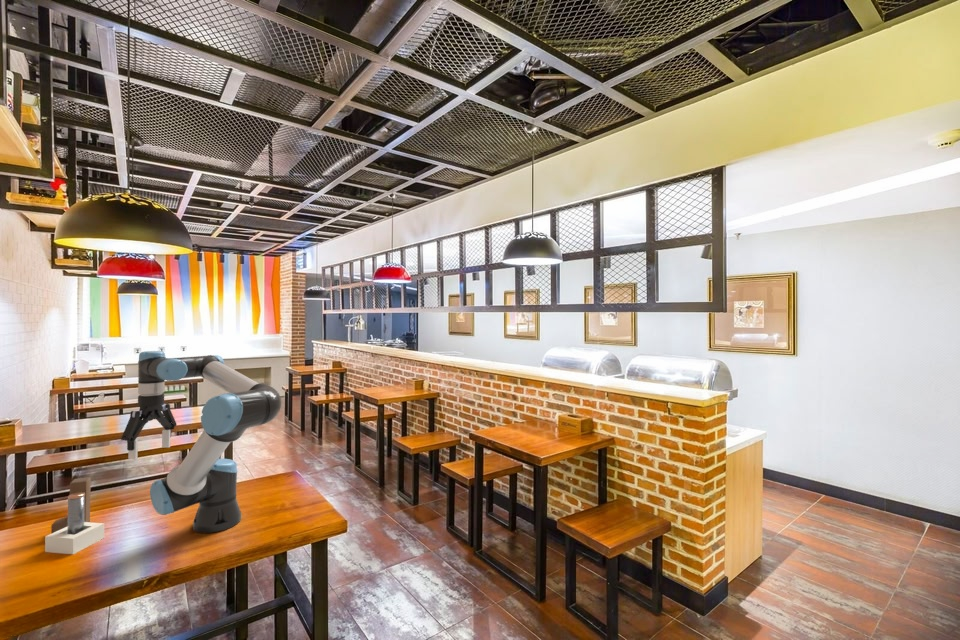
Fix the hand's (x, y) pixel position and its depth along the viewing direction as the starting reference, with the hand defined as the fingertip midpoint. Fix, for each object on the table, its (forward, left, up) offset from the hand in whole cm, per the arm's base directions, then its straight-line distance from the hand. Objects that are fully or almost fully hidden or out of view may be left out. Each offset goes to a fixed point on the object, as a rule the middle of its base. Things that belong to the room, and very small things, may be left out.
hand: (150, 452), depth 152 cm
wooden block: (+23, +7, -27) cm, 36 cm away
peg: (+13, +14, -27) cm, 33 cm away
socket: (+13, +14, -27) cm, 33 cm away
